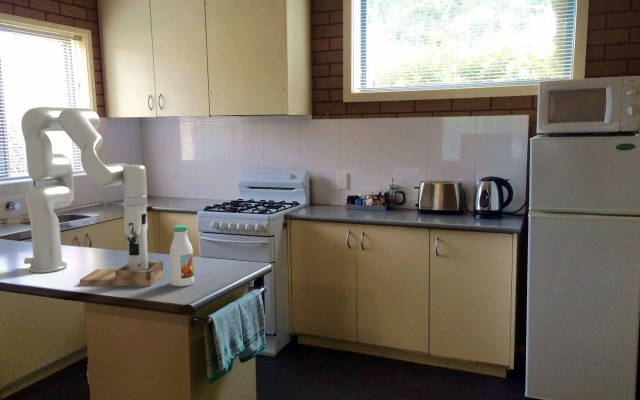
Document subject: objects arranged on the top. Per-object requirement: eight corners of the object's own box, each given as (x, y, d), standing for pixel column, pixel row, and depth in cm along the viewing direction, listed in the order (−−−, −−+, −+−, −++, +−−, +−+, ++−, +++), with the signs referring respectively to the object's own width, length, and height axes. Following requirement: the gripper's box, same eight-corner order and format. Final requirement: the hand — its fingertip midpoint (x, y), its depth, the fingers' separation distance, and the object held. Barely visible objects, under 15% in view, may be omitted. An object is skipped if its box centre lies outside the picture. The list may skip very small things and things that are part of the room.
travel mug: (143, 273, 185) (140, 215, 182) (125, 272, 187) (122, 215, 184) (152, 269, 191) (150, 212, 188) (135, 267, 193) (132, 212, 190)
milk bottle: (172, 288, 180) (170, 228, 177) (169, 282, 187) (166, 224, 184) (196, 285, 183) (194, 226, 180) (191, 279, 190) (189, 223, 187)
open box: (80, 285, 184) (79, 270, 183) (97, 274, 197) (96, 261, 196) (150, 286, 183) (149, 271, 182) (163, 275, 196) (162, 261, 195)
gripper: (134, 197, 194) (136, 246, 197) (114, 204, 177) (117, 258, 180) (155, 197, 194) (157, 247, 196) (137, 205, 177) (139, 259, 179)
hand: (138, 252), depth 188 cm, fingers closed on travel mug, 6 cm apart
